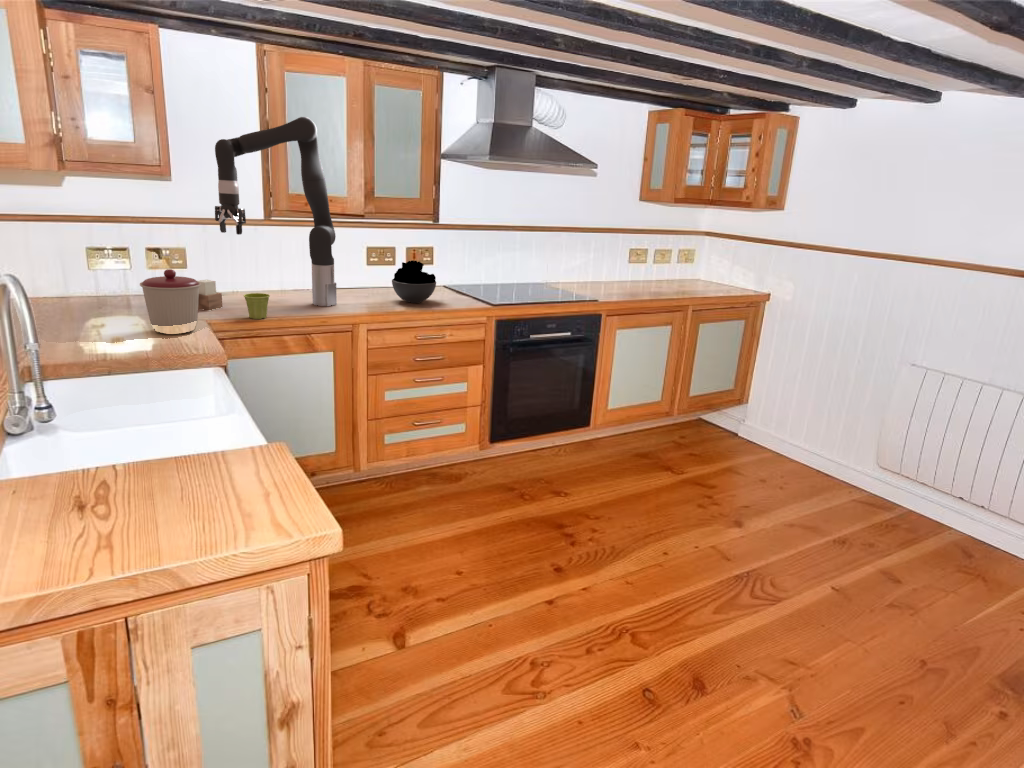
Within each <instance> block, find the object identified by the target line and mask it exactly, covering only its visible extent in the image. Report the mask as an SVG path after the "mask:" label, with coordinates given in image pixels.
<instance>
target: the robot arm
mask: <svg viewBox="0 0 1024 768" xmlns="http://www.w3.org/2000/svg"><path fill="white" fill-rule="evenodd" d="M318 141H319V140H318V127H317V124H316V123H315V122H314V121H313V120H312V119H311V118H310V117H306V116H299V117H298V118H297V117H296V118H295V119H294V120H291V121H289V122H287V123H284V124H282V125H278V126H275V127H271V128H267V129H262V130H257V131H254V132H249V133H246V134H245V133H244V134H241V135H240V136H238V137H234V138H229V139H228V138H227V139H224V138H222V139H218V140H217V142H215V144H214V145H215V146H214V154H215V155H214V156H215V160H216V163H217V176H218V182H217V183H218V185H217V186H218V203H219V204H220V205H215V206H214V221H216V222H218V223H219V231H220V233H227V223H226V221H227V220H228V219H232V220H233V222H234V223H235V232H236V235H242V234H243V225H245V224H246V223H247V218H246V209H245V208H241V207H239V205H240V192H239V191H240V190H239V183H238V170H237V167H236V164H235V163H236V162H235V158H237V157H239V156H243V155H246V154H250V153H256V152H260V151H263V150H266V149H270V148H272V147H275V146H277V145H280V144H284V143H290V142H297V145H298V149H299V153H300V171H301V173H300V176H301V182H302V188H303V192H304V193H303V194H304V197H305V200H306V201H307V204H308V207H309V208H310V210H311V214H312V217H313V224H314V225H313V226H314V227H313V228H311V230H310V231H309V236H308V241H309V242H308V246H309V257H310V259H311V287H312V288H311V291H312V292H311V294H312V296H311V297H312V305H313V304H314V306H317V305H318V307H320V306H321V307H331V305H332V306H337V304H338V303H337V302H338V301H337V282H335V258H334V256H333V252H332V248H333V247H332V245H334V243H335V241H336V230H335V227H334V224H333V220H332V216H331V211H330V205H329V202H330V201H329V196H328V188H327V184H326V183H327V182H326V177H325V176H326V175H325V173H324V168H323V164H322V161H321V158H320V157H321V156H320V153H319V143H318Z"/></svg>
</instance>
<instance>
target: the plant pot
mask: <svg viewBox="0 0 1024 768" xmlns="http://www.w3.org/2000/svg"><path fill="white" fill-rule="evenodd" d="M270 296H271V295H270V294H269V293H261V292H255V293H254V292H251V293H250V292H249V293H245V294H243V298H244V300H245V301H246V302H245V303H246V307H247V311H248V316H249V318H250V319H253V320H261V319H266V318H267V316H268V304H269V301H270Z"/></svg>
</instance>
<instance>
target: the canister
mask: <svg viewBox="0 0 1024 768" xmlns="http://www.w3.org/2000/svg"><path fill="white" fill-rule="evenodd" d="M198 281H199V280H196V279H194V278H192V277H187V276H179V275H178V276H177V272H176V271H175V270H174V269H170V268H169V269H165V270H164V271H163V276H154V277H148V278H146V279H144V280H143V281H141V282H140V283H139V286H140V287H141V289H142V294H143V298H144V303H145V307H146V311H147V315H148V318H149V322H150V325H151V324H152V325H158V326H173V325H182V324H187V323H191V322H194V321H197V322H198V317H199V316H198V315H199V310H198V299H199V286H200V285H201V283H200V282H198Z"/></svg>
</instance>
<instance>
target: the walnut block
mask: <svg viewBox="0 0 1024 768" xmlns="http://www.w3.org/2000/svg"><path fill="white" fill-rule="evenodd" d="M222 295H223V293H222V292H216V294H211V295H202V294H199V299H198V309H204V310H203V311H205V310H211V311H213V310H212V309H215V310H217V309H216V308H219V309H222V308H221V307H223V297H222ZM223 308H224V307H223Z"/></svg>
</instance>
